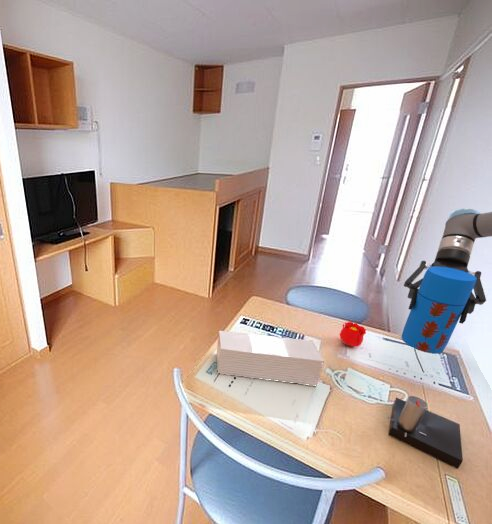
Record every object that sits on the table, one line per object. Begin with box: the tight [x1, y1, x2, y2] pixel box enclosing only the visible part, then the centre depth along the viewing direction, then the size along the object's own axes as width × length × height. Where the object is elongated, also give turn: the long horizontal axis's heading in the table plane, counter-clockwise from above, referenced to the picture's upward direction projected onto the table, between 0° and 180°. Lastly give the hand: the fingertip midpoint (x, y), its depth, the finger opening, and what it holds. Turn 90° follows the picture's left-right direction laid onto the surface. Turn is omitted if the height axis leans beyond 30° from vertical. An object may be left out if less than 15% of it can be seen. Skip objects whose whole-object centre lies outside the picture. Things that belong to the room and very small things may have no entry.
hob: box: [387, 397, 464, 469], centre depth 84 cm, size 15×15×3 cm
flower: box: [339, 321, 367, 347], centre depth 120 cm, size 8×8×8 cm
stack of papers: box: [215, 330, 325, 387], centre depth 106 cm, size 32×11×11 cm, turn 79°
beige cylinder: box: [397, 395, 429, 433], centre depth 82 cm, size 4×4×9 cm
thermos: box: [400, 266, 477, 355], centre depth 94 cm, size 11×11×25 cm
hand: (435, 314), depth 92 cm, fingers closed on thermos, 11 cm apart
